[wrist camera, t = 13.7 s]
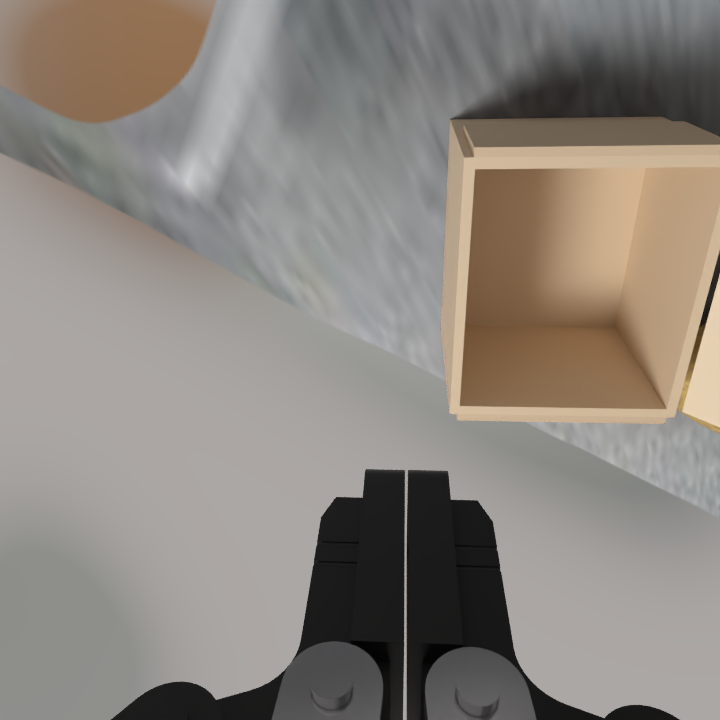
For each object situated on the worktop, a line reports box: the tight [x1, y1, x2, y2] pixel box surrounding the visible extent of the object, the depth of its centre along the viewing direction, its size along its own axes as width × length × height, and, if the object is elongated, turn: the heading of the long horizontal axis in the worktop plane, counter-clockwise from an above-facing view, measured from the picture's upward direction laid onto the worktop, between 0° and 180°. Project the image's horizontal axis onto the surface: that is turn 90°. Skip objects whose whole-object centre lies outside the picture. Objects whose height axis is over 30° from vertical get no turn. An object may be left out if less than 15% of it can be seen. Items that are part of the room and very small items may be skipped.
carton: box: [441, 116, 720, 424], centre depth 41 cm, size 17×14×12 cm
